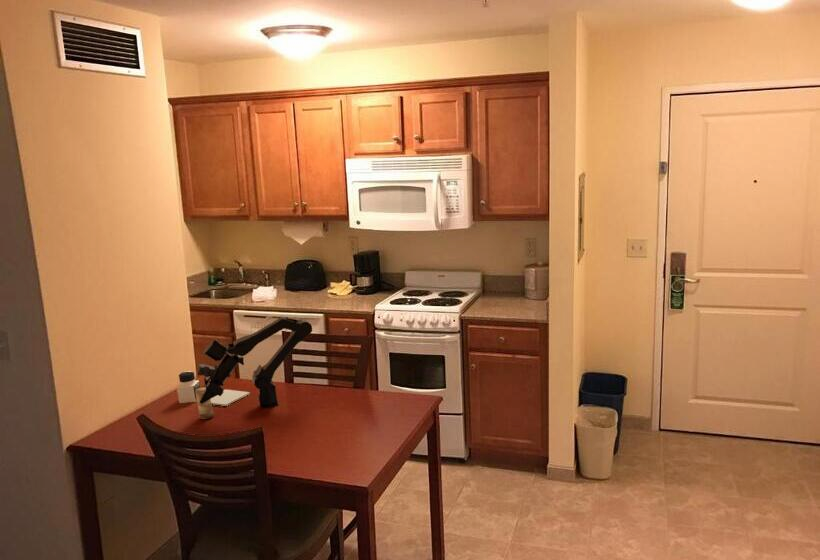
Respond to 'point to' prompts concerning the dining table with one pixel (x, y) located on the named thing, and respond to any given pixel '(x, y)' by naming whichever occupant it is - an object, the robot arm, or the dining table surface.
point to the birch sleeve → (203, 404)
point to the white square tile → (228, 397)
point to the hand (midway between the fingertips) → (200, 400)
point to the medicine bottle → (187, 387)
